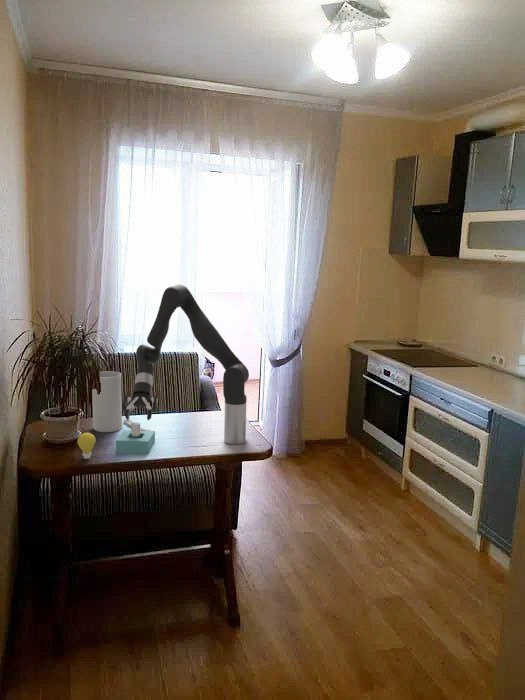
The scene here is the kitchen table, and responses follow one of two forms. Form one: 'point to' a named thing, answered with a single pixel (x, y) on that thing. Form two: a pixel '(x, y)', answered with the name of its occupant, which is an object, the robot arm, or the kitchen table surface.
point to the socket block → (135, 442)
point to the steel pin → (135, 430)
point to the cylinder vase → (108, 403)
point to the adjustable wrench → (131, 423)
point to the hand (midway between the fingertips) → (137, 419)
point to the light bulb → (86, 444)
